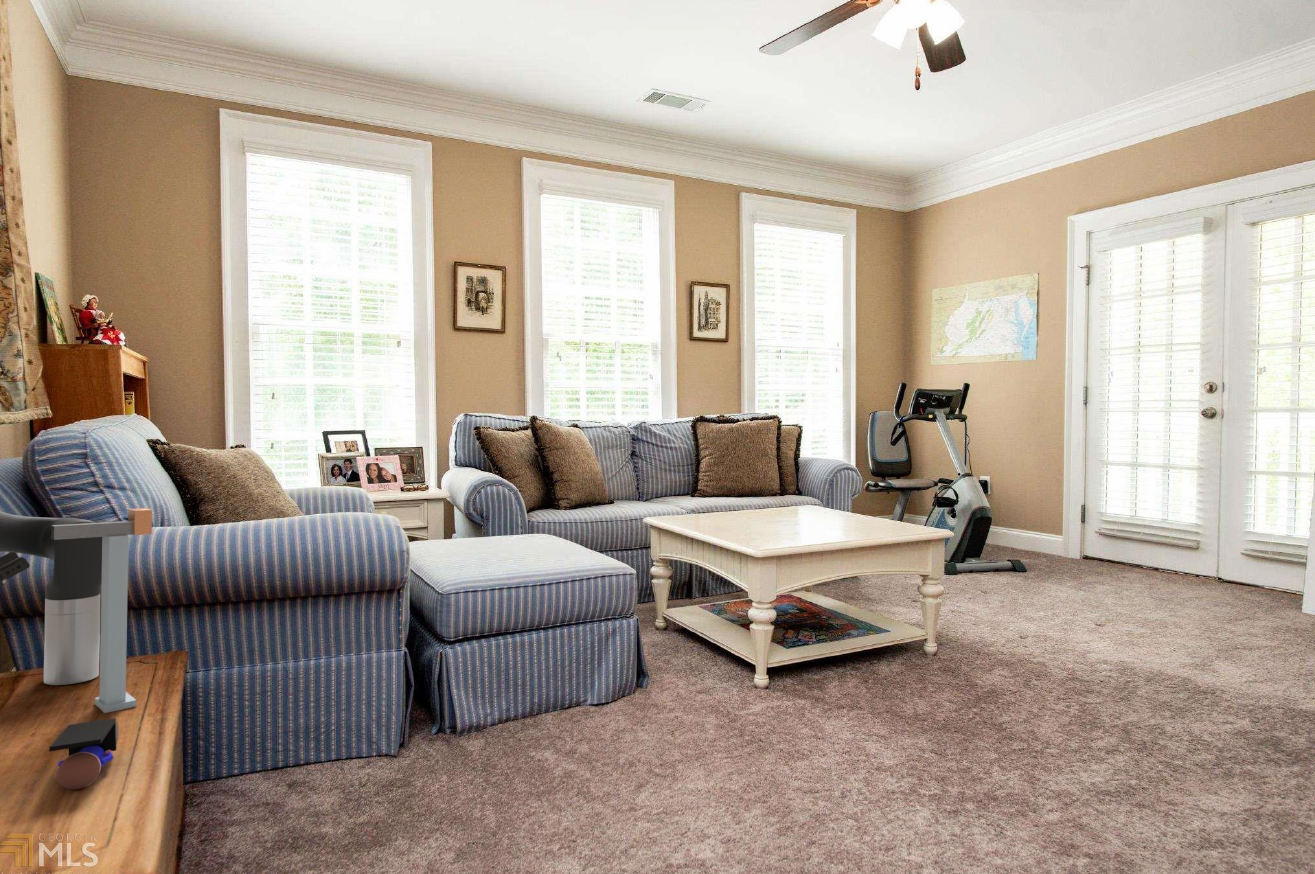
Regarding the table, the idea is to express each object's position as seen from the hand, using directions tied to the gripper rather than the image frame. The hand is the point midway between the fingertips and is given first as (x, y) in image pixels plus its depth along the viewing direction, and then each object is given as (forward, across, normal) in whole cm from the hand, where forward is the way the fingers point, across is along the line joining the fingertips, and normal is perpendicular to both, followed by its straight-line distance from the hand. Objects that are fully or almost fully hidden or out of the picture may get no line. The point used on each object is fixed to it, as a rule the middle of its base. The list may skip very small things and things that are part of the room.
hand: (22, 558), depth 137 cm
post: (-3, 0, +32) cm, 32 cm away
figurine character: (-12, -32, +27) cm, 43 cm away
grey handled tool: (+12, 0, +3) cm, 12 cm away
